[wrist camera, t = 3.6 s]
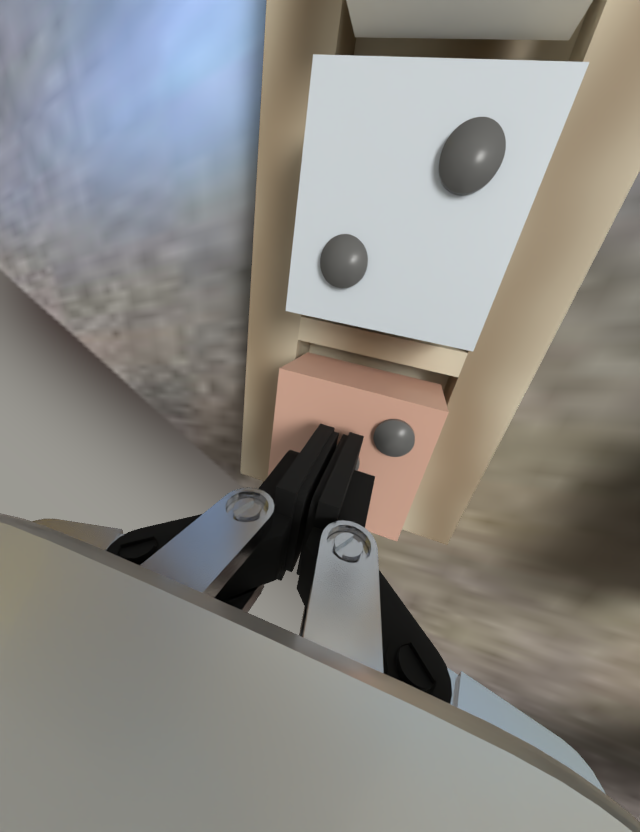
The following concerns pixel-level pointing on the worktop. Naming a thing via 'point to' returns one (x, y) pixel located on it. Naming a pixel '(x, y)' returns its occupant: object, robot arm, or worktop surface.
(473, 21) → the button
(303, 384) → the three-pip button
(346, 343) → the button board
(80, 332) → the worktop surface
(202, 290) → the worktop surface
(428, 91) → the button
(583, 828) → the robot arm
